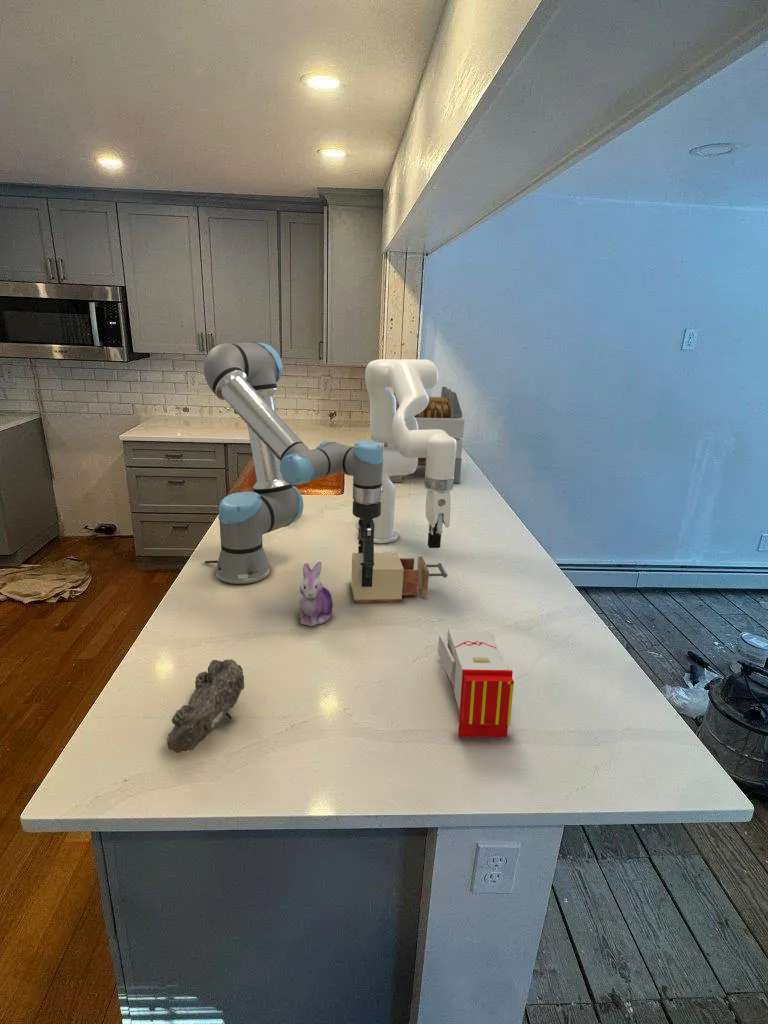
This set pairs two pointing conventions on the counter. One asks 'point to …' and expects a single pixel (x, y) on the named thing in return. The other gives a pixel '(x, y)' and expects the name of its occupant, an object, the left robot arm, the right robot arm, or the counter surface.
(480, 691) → the toy
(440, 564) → the drawer
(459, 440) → the transformer
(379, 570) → the lidded box
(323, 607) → the figurine
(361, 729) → the counter surface
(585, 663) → the counter surface
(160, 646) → the counter surface
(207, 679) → the fossil
